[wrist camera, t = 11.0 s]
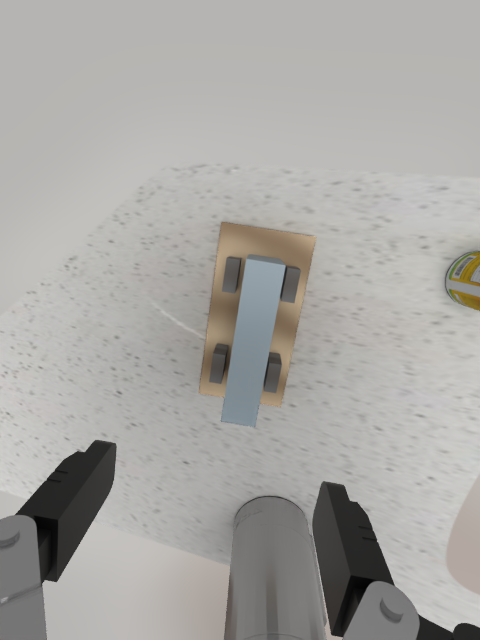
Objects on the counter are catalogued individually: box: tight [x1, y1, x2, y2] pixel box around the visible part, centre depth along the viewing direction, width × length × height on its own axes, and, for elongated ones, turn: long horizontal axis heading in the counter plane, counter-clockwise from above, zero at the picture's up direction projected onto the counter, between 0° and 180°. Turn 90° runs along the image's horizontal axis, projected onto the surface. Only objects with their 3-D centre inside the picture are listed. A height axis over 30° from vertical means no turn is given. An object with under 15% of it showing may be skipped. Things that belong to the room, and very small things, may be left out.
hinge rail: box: [199, 222, 316, 407], centre depth 32 cm, size 18×9×4 cm, turn 171°
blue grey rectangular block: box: [221, 254, 286, 427], centre depth 30 cm, size 14×3×7 cm, turn 171°
